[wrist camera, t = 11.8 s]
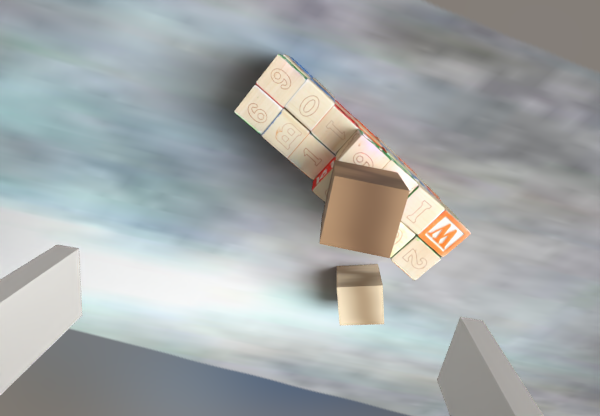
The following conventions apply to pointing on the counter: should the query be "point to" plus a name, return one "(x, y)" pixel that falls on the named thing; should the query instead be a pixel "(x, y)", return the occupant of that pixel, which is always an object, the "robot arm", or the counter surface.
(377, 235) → the walnut cube
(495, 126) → the counter surface
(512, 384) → the robot arm
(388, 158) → the stack of blocks
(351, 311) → the maple cube
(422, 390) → the counter surface
